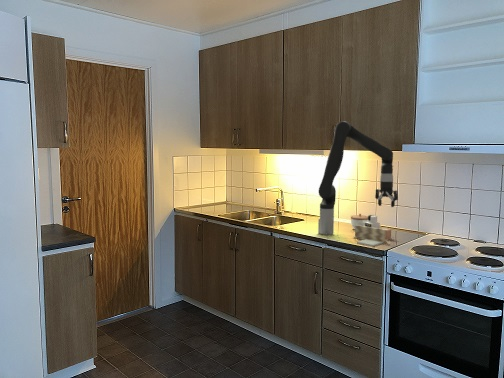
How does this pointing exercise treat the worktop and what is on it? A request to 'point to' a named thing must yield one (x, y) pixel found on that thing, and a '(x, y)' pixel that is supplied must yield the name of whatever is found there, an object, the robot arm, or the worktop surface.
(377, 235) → the birch screen
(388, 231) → the terracotta block
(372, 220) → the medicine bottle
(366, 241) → the pale green pad
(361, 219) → the lidded bowl
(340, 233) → the worktop surface
